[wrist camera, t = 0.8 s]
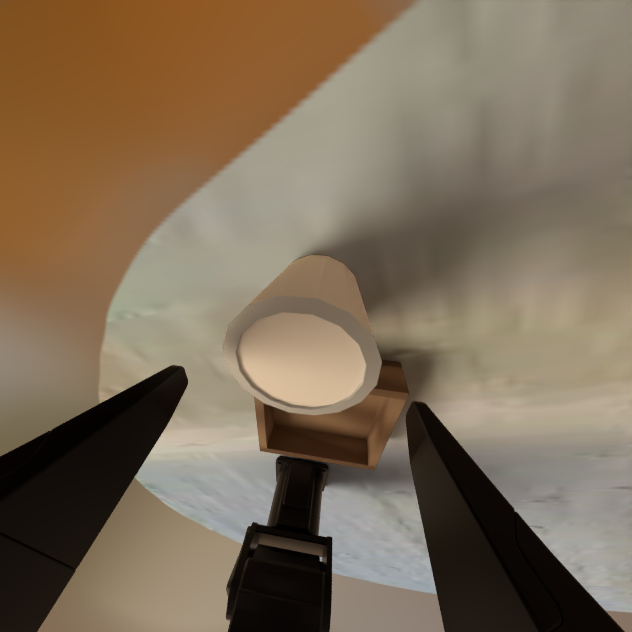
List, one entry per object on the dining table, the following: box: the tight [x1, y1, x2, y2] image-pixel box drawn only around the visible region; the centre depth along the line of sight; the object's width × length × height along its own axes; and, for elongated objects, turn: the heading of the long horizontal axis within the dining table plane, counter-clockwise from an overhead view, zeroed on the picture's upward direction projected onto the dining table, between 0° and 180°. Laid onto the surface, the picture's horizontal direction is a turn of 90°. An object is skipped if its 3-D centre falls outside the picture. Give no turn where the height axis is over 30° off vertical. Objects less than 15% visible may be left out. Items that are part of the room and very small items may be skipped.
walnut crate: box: [254, 360, 409, 470], centre depth 20 cm, size 11×11×3 cm
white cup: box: [223, 255, 382, 415], centre depth 13 cm, size 7×7×7 cm
